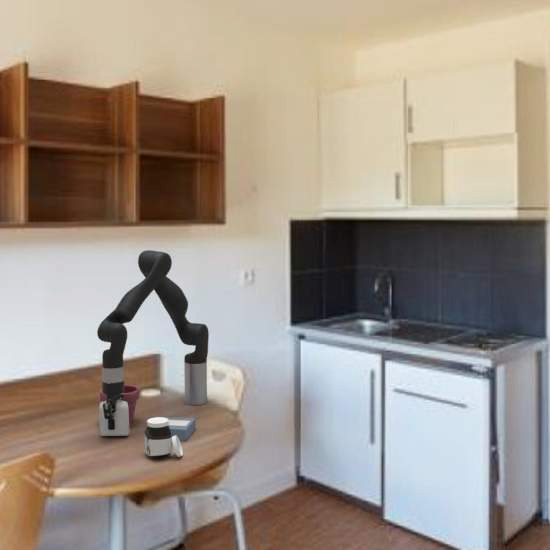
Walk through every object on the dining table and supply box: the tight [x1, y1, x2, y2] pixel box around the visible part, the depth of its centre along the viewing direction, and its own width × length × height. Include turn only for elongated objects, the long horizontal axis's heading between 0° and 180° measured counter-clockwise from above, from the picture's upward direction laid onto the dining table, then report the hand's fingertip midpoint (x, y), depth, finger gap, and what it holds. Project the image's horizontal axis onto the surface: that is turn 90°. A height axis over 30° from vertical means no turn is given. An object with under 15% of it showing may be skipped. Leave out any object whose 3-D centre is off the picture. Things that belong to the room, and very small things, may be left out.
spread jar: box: [144, 416, 184, 460], centre depth 213 cm, size 12×11×12 cm
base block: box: [162, 416, 197, 442], centre depth 235 cm, size 13×14×4 cm
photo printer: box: [98, 400, 130, 437], centre depth 231 cm, size 10×4×12 cm, turn 89°
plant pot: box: [99, 384, 140, 425], centre depth 247 cm, size 14×14×13 cm
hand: (114, 427), depth 231 cm, fingers closed on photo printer, 4 cm apart
